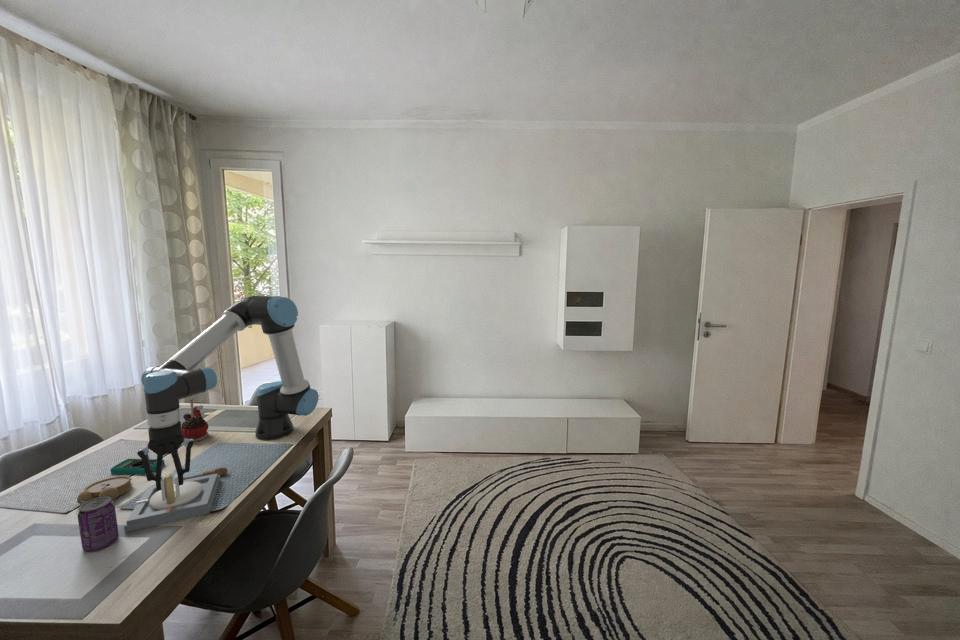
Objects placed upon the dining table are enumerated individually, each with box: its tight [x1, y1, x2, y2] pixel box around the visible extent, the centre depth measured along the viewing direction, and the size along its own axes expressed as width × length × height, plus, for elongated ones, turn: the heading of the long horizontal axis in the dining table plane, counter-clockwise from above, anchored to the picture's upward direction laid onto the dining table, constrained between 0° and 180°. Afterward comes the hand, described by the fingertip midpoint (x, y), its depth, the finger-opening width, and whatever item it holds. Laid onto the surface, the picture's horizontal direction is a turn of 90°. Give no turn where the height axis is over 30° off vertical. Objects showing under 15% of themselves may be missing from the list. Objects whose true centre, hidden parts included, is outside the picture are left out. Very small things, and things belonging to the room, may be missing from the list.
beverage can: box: [77, 497, 120, 552], centre depth 103 cm, size 7×7×12 cm
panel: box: [123, 473, 221, 533], centre depth 122 cm, size 20×20×3 cm
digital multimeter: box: [109, 458, 166, 476], centre depth 142 cm, size 7×15×3 cm, turn 89°
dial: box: [150, 474, 202, 510], centre depth 121 cm, size 13×13×10 cm
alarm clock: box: [76, 475, 133, 506], centre depth 125 cm, size 11×5×15 cm
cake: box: [181, 398, 209, 442], centre depth 165 cm, size 11×9×18 cm
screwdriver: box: [183, 466, 228, 480], centre depth 136 cm, size 13×3×3 cm, turn 116°
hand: (171, 496), depth 116 cm, fingers open, 3 cm apart
